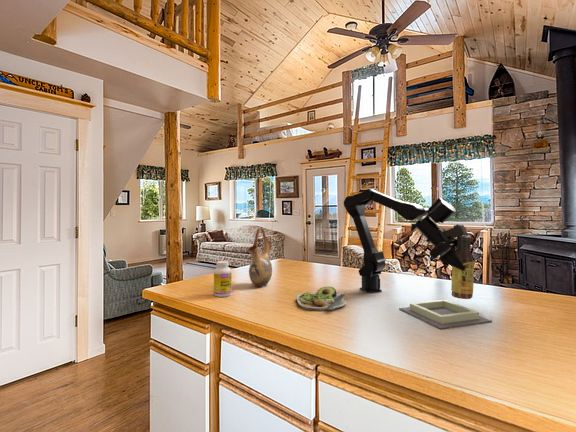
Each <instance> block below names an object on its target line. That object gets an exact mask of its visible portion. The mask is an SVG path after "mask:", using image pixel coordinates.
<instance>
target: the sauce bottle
mask: <svg viewBox="0 0 576 432" xmlns="http://www.w3.org/2000/svg"><path fill="white" fill-rule="evenodd" d="M456 239H457V251H456V253H455V255H456V256H457V257H458V259H459V260H460V261H461V263H462V264H463V265H464V267H465V268H466V269H465V270H464V271H462V270H460V269H458V268H456V267H454V266H451V285H450V286H451V288H450V289H451V296H452V297H454V298H456V299H462V300H470V299H472V298H473V294H474V278H475V275H474V274H475V261H474V259H473V255H472V251H471V242H472V237H471V236H465V235H461V236H457V237H456Z"/></svg>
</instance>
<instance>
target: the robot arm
mask: <svg viewBox="0 0 576 432" xmlns="http://www.w3.org/2000/svg"><path fill="white" fill-rule="evenodd" d="M371 201H372V202H375V203H376V204H378V205H381V206H383V207H386V208H387V209H390V210H393V211H394V212H396V213H397V214H398V215H399V216H400V217H402V218H403V219H404V220H406V221H416V222H415V223H411V224H410V225H411V227H410V231H411V232H416V231H419V232H420V233H421V234H422V236H424V237H425V238H426V240H425V242H427V243H430V244H431V245H432V246H433V248H432V249H431V250H430V251H429V256H430V257H431V259H432V260H438V261H440V262H443V263H445V264H448V265H449V266H451V267H452V266H454V267H456V268H458V269H460V270H462V271H464V270H465V269H466V268H465V267H464V265H463V264H462V263H461V261H460V260H459V259H458V257H457V256H456V255H455V253H456V251H457V236H465V235H467V234H468V231H467V227H466V226H465V225H464V224H460V223H458V224H455V225H453V227H451V228H449V229H445V228H441V227H440V226H439V223H441V224H444V223H445V222H446V221H447V220H448V219H449V218H450V217H451V216H452V215H454V214H455V213H456V211H457V209H456V208H455V207H454V206H453V205H452V204H451V203H449V202H447V201H446V200H443V198H441V197H438V198H437V199H436V200H435V201H434V203H433V204H432V205H431V206H429V207H426V208H425V207H423V206H422V205H420V204H419V203H418V204H417V203H412V202H408V201H403V200H399V199H397V198H395V197H392V196H390V195H388V194H385V193H382V192H380V191H378V190H376V189H373V188H372V189H371V188H369V189H368V188H367V189H366V190H364V191H362V192H358V193H356V194H354V195H348V196H346V197H345V198H344V200H343V206H344V209H345V210H346V212H347V214H348V215H349V216H350V217H351V218H352V220H353V222H354V223H353V224H354V226H355V230H356V232H357V235H358V237H359V238H358V239H359V241H360V244H361V248H362V250H363V257H362V261H363V265H362V266H361V267H360V268H359V270H358V273H359V277H361V287H359V290H361V291H364V292H366V293H379V292H382V289H381V278H380V275H381V274H382V272H383V270H385V267H386V262H387V260H386V258H385V256H384V251H382V250H381V251H379V250H378V249H377V248H376V245H375V242H374V240H373V236H372V233H371V230H370V227H369V224H368V222H367V218H366V216H365V211H366V206H365V205H367V204H369V203H370V202H371ZM424 216H425V217H424ZM439 256H440V257H439Z"/></svg>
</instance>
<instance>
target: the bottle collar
mask: <svg viewBox="0 0 576 432" xmlns="http://www.w3.org/2000/svg"><path fill="white" fill-rule="evenodd" d="M409 307H410V310H412V311H414V312H416V313H418V314H420V315H423V316H425V317H427V318H429V319H431V320H433V321H436V322H438V323H440V324H445V323H452V322H460V321H467V320H474V319H479V316H480V312H479V311H477V310H474V309H471V308H468V307H466V306H464V305H460V304H457V303H455V302H452V301H450V300H447V299H437V300H436V299H435V300H429V301H420V302H419V301H417V302H411V303H409ZM440 307H445V308H448V309H450V310H453V311H455V312H458V313H454V314H446V315H440V314H438V313H435V312H433V311H431V310H428V309H431V308H440Z"/></svg>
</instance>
